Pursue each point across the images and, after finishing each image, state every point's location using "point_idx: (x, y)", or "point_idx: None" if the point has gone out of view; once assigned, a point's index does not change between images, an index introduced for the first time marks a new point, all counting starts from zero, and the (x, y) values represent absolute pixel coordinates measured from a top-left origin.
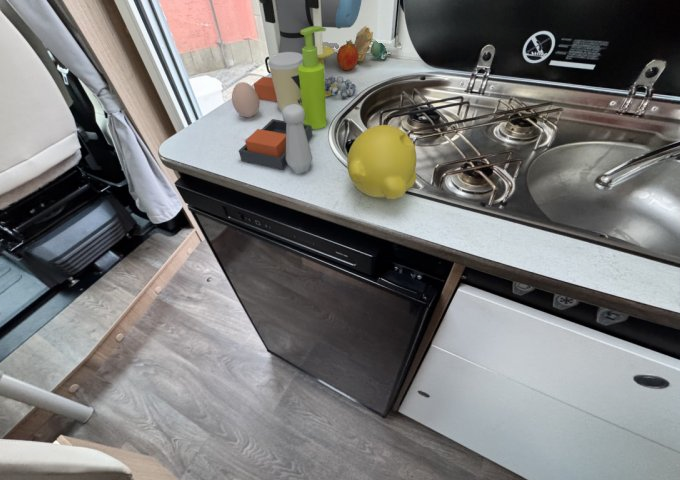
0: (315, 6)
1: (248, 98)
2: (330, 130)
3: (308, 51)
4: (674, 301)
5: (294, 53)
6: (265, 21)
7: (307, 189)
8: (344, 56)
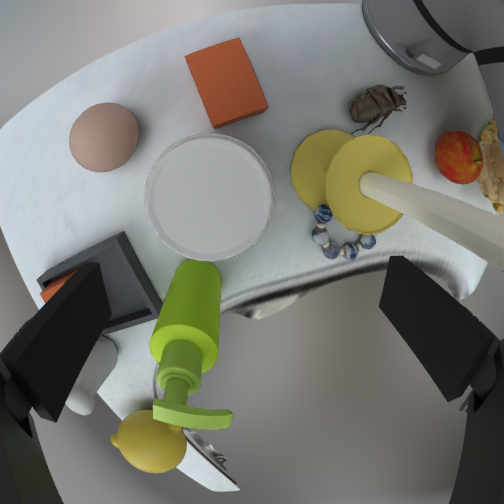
0: (383, 304)
1: (90, 170)
2: None
3: (164, 389)
4: (216, 489)
5: (263, 187)
6: (85, 263)
7: None
8: (449, 164)
